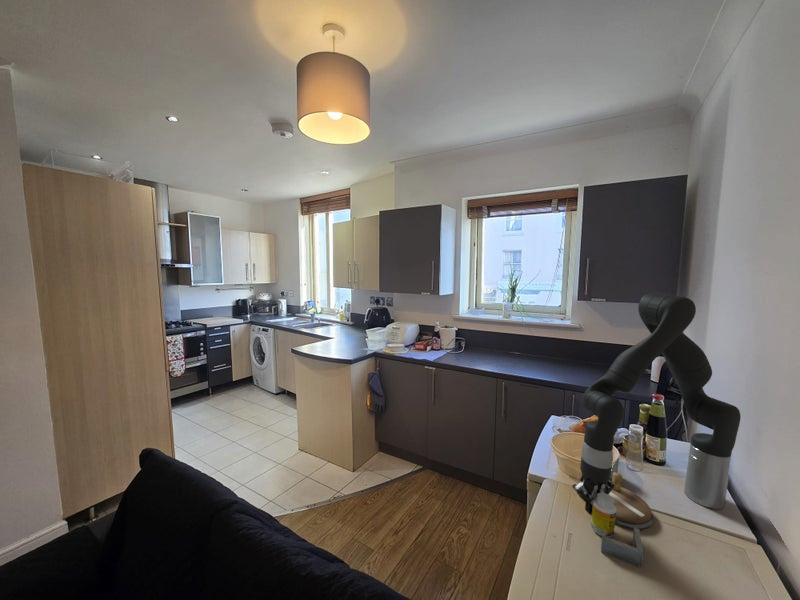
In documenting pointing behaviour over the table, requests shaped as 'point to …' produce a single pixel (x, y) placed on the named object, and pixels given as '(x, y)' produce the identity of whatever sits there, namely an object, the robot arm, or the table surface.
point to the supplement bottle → (603, 515)
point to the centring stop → (624, 549)
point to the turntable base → (632, 526)
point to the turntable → (628, 504)
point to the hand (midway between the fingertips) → (590, 512)
